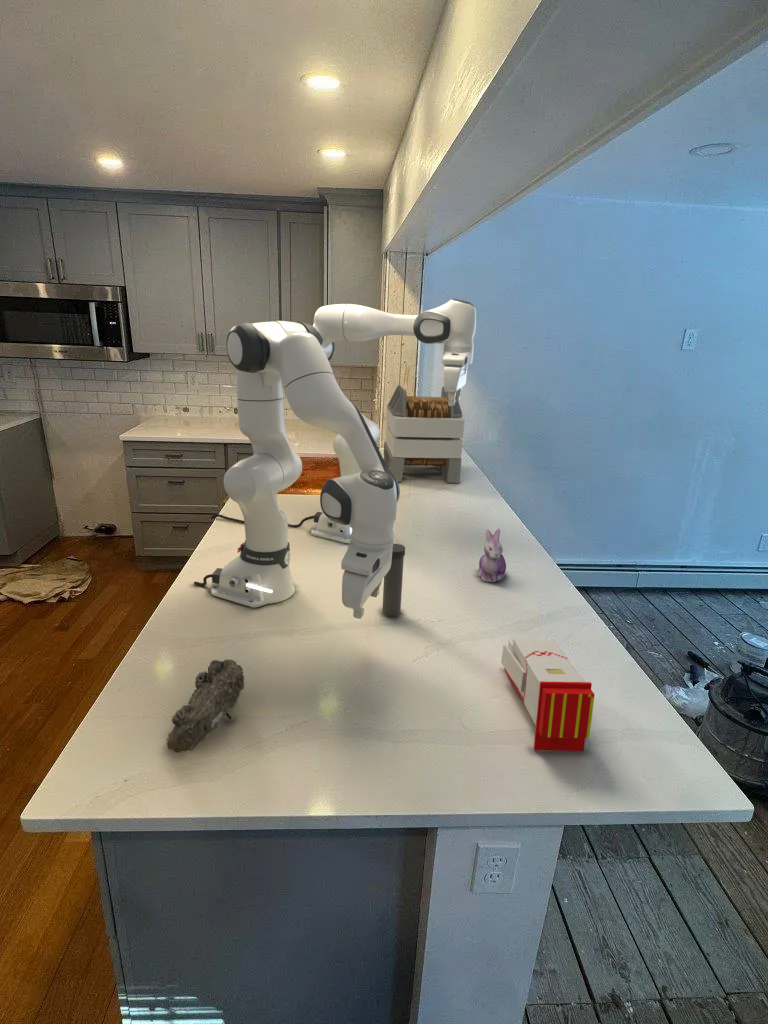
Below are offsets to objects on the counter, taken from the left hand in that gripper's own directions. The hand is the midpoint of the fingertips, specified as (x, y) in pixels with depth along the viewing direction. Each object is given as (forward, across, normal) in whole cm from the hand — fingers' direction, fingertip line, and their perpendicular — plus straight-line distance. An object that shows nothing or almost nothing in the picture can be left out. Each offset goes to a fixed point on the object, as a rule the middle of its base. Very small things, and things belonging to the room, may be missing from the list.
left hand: (366, 605), depth 122 cm
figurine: (+15, -55, +20) cm, 60 cm away
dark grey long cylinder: (+15, -23, -1) cm, 27 cm away
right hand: (-31, -72, -2) cm, 79 cm away
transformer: (+21, -154, -31) cm, 159 cm away
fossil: (+14, +29, -19) cm, 37 cm away
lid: (-3, -23, -2) cm, 23 cm away
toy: (+12, 0, +39) cm, 40 cm away
